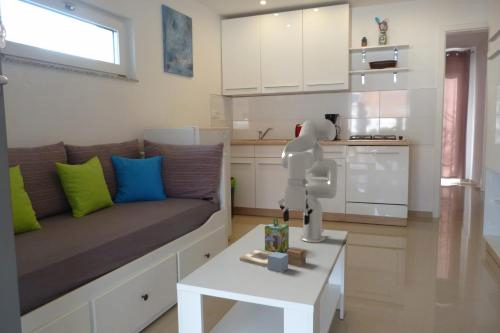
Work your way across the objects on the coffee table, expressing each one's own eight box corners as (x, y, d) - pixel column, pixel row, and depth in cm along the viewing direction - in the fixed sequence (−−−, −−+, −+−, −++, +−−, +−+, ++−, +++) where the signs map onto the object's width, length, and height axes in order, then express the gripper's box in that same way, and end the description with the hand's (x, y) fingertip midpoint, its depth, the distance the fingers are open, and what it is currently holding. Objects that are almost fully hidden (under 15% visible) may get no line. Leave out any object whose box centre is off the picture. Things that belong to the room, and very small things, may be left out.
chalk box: (281, 253, 171) (281, 222, 170) (264, 250, 176) (264, 219, 174) (289, 247, 179) (289, 217, 178) (272, 245, 184) (272, 215, 182)
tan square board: (257, 252, 173) (257, 248, 173) (283, 257, 165) (283, 254, 165) (239, 260, 162) (239, 257, 162) (266, 267, 154) (266, 263, 153)
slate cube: (275, 265, 156) (275, 251, 155) (288, 268, 152) (288, 254, 152) (267, 269, 151) (267, 255, 150) (280, 273, 147) (280, 258, 147)
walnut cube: (293, 260, 162) (293, 246, 161) (305, 262, 159) (305, 249, 158) (286, 264, 157) (286, 250, 157) (299, 267, 154) (299, 253, 153)
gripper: (319, 183, 153) (318, 223, 154) (283, 180, 163) (283, 218, 164) (311, 185, 147) (310, 227, 148) (274, 181, 157) (274, 221, 158)
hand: (296, 222), depth 156 cm, fingers open, 9 cm apart
